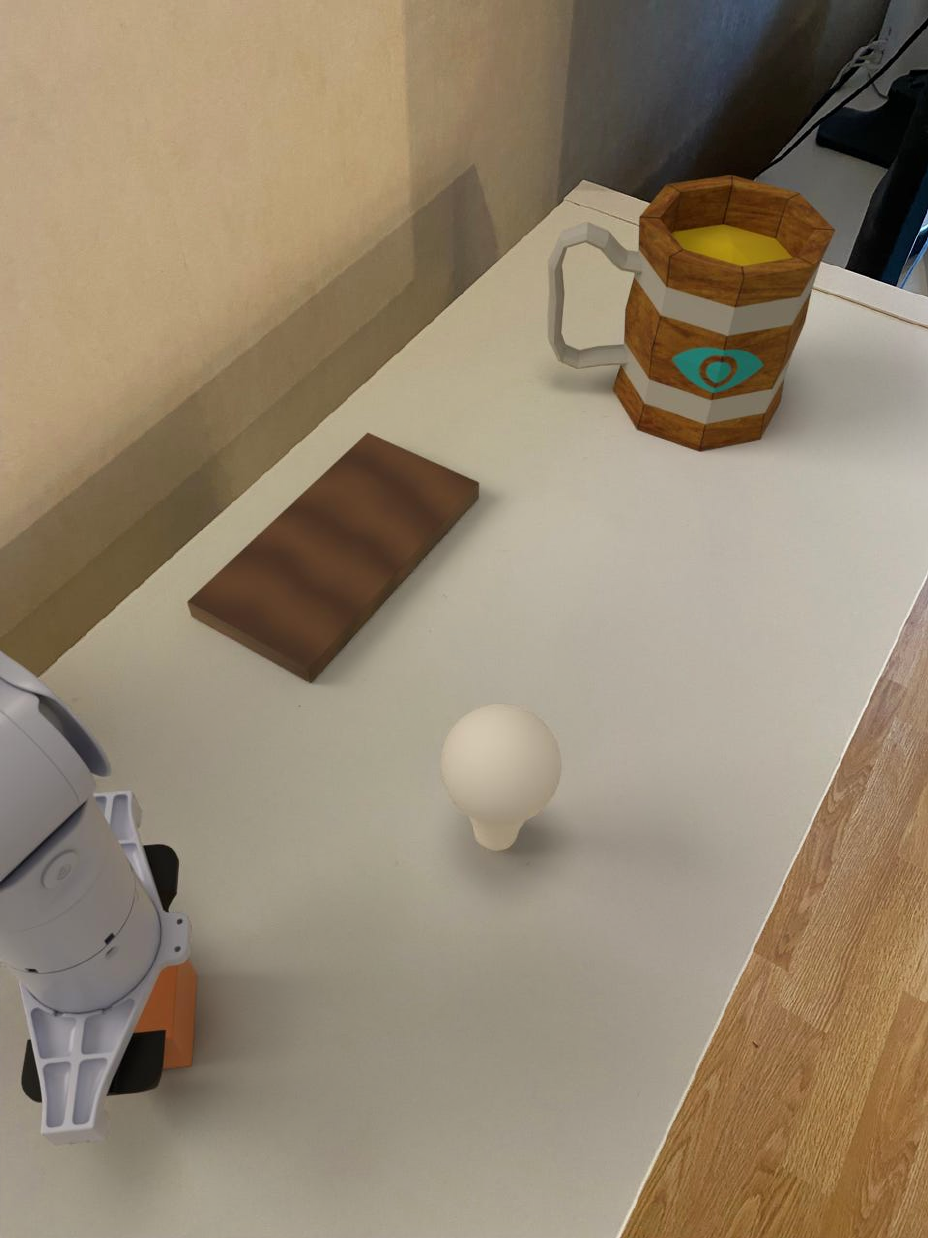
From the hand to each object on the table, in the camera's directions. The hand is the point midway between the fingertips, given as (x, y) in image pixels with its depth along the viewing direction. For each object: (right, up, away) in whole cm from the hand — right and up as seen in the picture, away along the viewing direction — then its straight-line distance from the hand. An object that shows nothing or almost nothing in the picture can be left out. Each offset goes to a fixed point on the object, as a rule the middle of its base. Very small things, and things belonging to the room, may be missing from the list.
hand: (142, 1015), depth 50 cm
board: (+7, +24, +21) cm, 33 cm away
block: (0, -1, +1) cm, 1 cm away
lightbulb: (+18, +7, +8) cm, 20 cm away
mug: (+32, +38, +33) cm, 59 cm away
